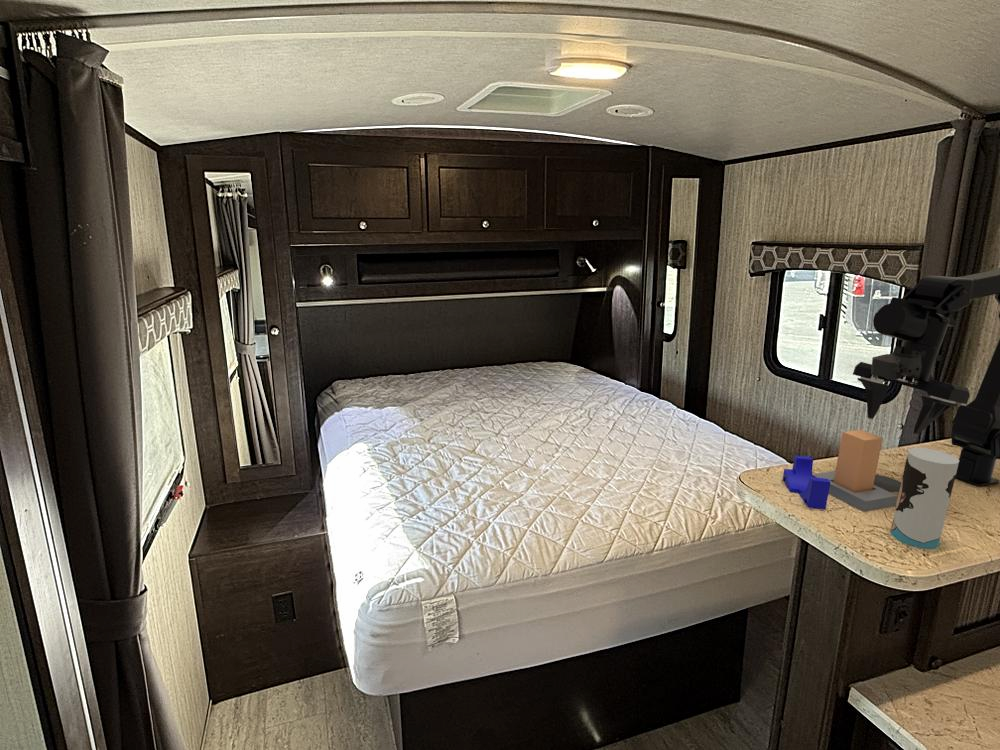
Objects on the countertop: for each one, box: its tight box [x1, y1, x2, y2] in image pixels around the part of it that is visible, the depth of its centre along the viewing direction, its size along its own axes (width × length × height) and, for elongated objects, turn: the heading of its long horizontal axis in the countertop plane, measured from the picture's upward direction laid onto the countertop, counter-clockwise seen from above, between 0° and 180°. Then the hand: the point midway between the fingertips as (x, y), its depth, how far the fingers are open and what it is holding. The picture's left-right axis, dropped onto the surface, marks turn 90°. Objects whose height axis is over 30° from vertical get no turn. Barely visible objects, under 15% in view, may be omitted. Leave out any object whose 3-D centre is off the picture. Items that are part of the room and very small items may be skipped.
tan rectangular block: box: [833, 429, 884, 493], centre depth 114 cm, size 5×5×12 cm
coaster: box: [873, 474, 902, 493], centre depth 122 cm, size 8×8×1 cm
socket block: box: [812, 470, 898, 512], centre depth 116 cm, size 8×12×2 cm, turn 20°
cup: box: [890, 447, 959, 550], centre depth 99 cm, size 7×7×15 cm
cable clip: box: [782, 455, 831, 510], centre depth 115 cm, size 12×4×6 cm, turn 169°
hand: (892, 425), depth 114 cm, fingers open, 9 cm apart
